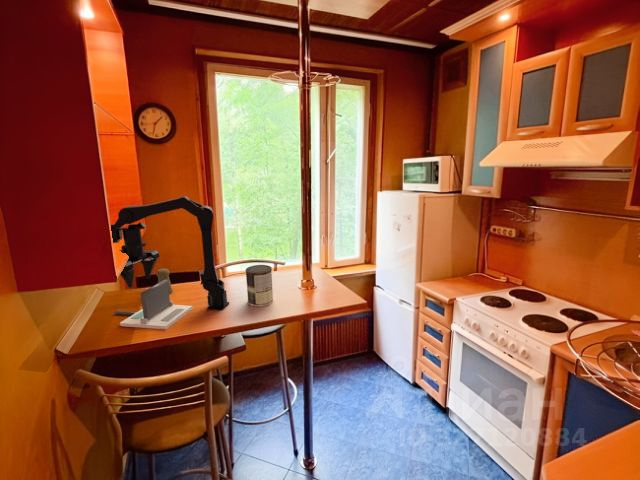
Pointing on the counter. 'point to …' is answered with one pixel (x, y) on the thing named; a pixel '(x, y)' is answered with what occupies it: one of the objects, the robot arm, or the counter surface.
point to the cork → (164, 278)
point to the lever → (155, 299)
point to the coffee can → (259, 285)
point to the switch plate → (156, 317)
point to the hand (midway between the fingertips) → (139, 283)
